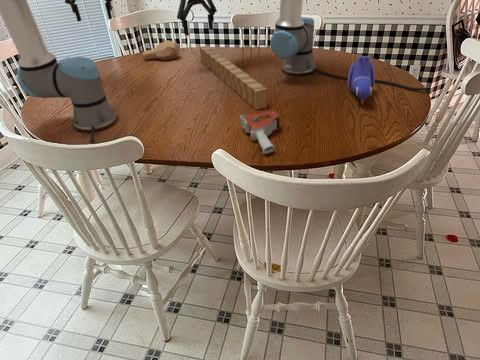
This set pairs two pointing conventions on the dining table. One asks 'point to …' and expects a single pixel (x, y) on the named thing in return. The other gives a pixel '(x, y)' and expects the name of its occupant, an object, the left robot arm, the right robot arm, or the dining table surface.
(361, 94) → the toy
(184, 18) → the right robot arm
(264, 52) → the dining table surface
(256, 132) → the tape dispenser
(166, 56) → the squash
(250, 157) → the dining table surface
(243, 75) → the beam
